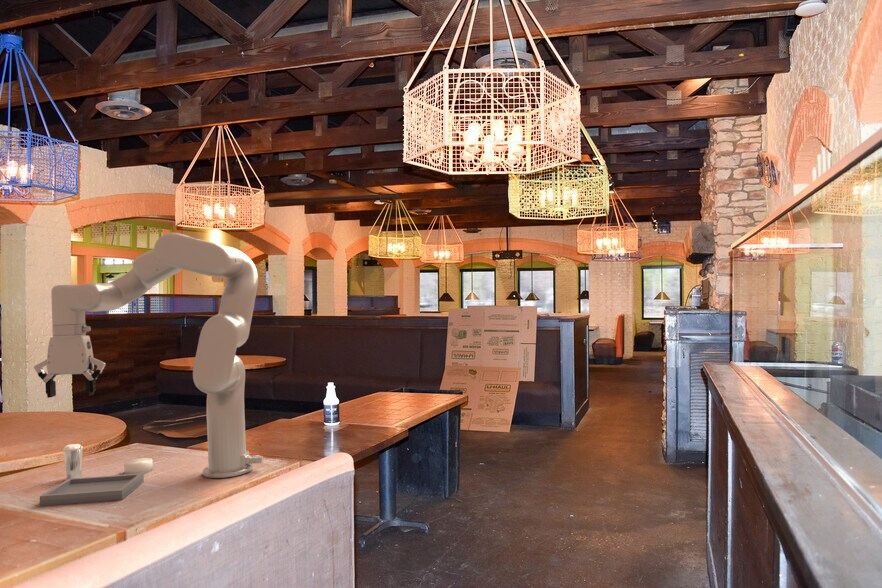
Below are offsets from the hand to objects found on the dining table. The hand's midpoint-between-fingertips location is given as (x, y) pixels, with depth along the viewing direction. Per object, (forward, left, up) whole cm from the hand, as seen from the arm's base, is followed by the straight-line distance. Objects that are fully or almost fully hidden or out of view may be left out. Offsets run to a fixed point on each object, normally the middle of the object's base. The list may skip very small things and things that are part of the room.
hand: (71, 395), depth 164 cm
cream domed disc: (-15, -3, -22) cm, 27 cm away
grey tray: (-11, +15, -22) cm, 29 cm away
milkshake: (0, 0, -22) cm, 22 cm away
